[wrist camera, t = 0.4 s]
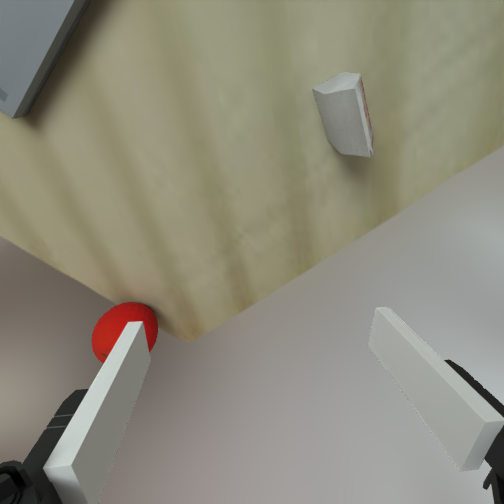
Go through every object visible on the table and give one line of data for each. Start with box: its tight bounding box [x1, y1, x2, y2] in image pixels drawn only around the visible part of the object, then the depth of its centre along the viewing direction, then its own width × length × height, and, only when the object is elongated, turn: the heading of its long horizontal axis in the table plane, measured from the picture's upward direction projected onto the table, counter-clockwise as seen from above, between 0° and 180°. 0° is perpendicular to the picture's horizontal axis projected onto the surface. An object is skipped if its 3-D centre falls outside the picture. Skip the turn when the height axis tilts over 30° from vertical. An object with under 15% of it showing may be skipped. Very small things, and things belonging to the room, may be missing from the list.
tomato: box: [92, 302, 158, 363], centre depth 50 cm, size 12×12×13 cm
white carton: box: [313, 72, 373, 158], centre depth 28 cm, size 4×7×10 cm, turn 27°
